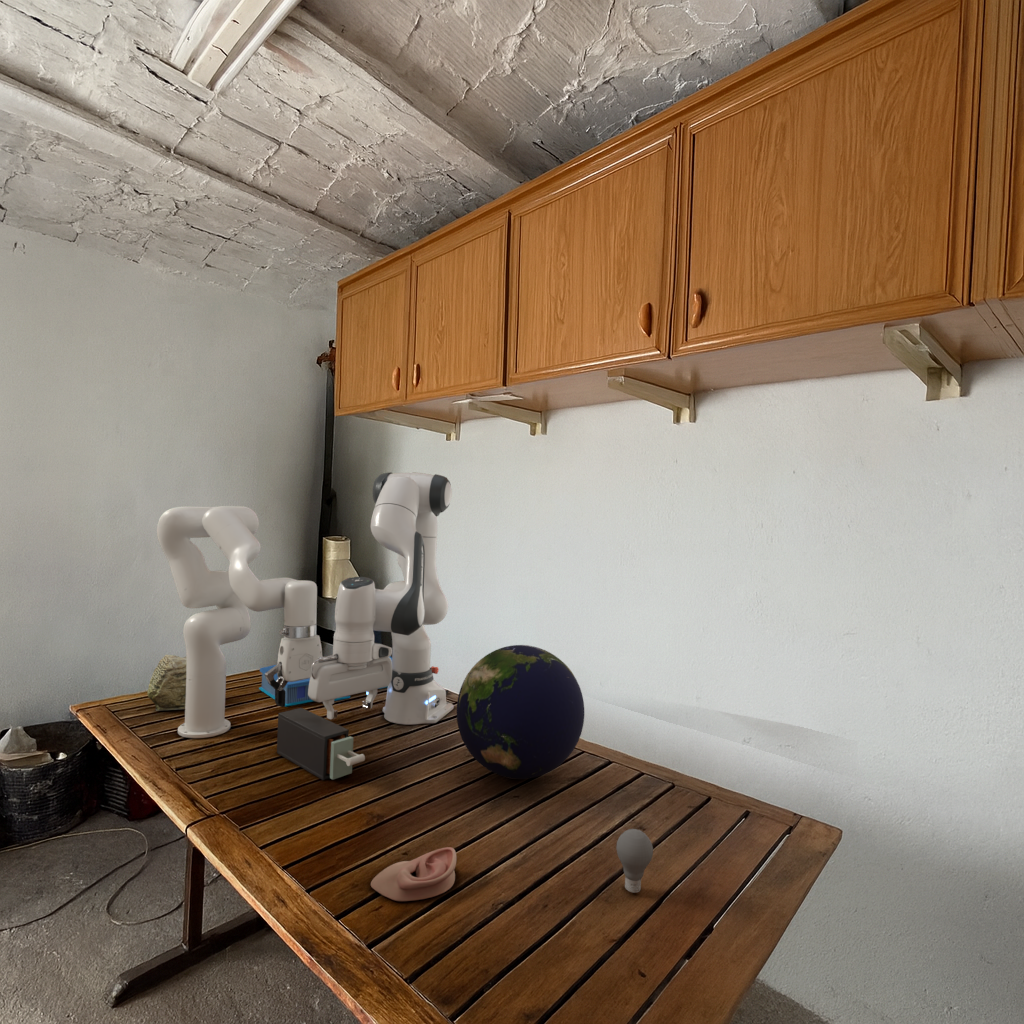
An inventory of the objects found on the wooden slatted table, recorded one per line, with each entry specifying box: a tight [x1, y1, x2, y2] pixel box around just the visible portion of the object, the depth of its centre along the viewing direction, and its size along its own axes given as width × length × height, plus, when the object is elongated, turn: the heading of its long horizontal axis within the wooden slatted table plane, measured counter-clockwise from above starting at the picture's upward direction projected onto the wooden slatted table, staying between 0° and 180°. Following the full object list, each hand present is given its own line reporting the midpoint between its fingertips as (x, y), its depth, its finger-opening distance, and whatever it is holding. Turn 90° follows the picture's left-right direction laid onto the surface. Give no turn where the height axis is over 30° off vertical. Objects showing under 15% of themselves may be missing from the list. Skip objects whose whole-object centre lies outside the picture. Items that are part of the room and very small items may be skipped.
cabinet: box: [276, 707, 350, 781], centre depth 150 cm, size 21×6×10 cm, turn 49°
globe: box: [456, 644, 585, 780], centre depth 149 cm, size 30×30×30 cm
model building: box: [258, 655, 392, 707], centre depth 208 cm, size 39×24×10 cm, turn 132°
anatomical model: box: [370, 846, 458, 902], centre depth 106 cm, size 13×4×12 cm
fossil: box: [147, 654, 187, 712], centre depth 185 cm, size 9×18×15 cm, turn 132°
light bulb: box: [615, 828, 654, 894], centre depth 106 cm, size 6×6×10 cm
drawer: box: [326, 735, 366, 781], centre depth 146 cm, size 25×5×8 cm, turn 49°
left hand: (298, 701), depth 155 cm, fingers open, 9 cm apart
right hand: (350, 713), depth 140 cm, fingers open, 8 cm apart
